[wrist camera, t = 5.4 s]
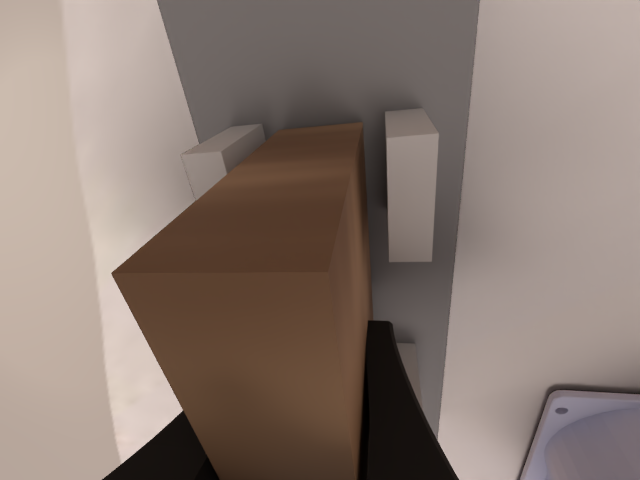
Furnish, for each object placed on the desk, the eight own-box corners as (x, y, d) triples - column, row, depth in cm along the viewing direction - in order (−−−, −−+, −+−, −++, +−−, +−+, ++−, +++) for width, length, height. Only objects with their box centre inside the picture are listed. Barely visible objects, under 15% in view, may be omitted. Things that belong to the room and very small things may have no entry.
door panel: (377, 397, 15) (375, 630, 9) (308, 393, 16) (263, 608, 10) (362, 121, 9) (327, 272, 3) (253, 132, 10) (50, 273, 4)
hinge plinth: (433, 415, 18) (447, 516, 14) (290, 404, 19) (267, 492, 16) (472, -82, 8) (554, -193, 4) (177, -23, 10) (44, -67, 6)
